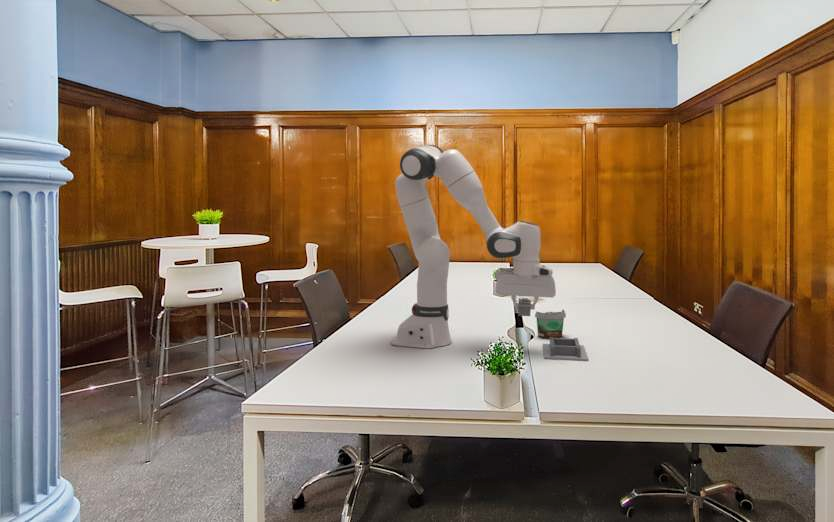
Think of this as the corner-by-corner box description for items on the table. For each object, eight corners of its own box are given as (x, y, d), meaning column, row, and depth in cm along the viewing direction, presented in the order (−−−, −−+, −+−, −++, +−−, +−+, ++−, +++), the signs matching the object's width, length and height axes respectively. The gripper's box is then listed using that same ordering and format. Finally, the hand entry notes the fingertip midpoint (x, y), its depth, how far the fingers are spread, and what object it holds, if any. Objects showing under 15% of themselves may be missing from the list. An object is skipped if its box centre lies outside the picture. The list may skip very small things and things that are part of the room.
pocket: (543, 358, 171) (544, 348, 171) (542, 345, 187) (543, 335, 187) (588, 361, 168) (588, 350, 168) (583, 347, 184) (583, 337, 184)
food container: (542, 341, 193) (542, 314, 192) (534, 337, 199) (534, 311, 198) (571, 338, 196) (572, 312, 195) (563, 334, 202) (563, 309, 201)
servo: (518, 316, 175) (518, 301, 175) (518, 310, 184) (519, 296, 184) (530, 316, 174) (530, 301, 174) (530, 311, 183) (530, 297, 183)
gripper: (494, 268, 177) (493, 308, 178) (557, 271, 173) (555, 312, 174) (495, 266, 183) (494, 305, 184) (556, 269, 179) (554, 308, 180)
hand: (524, 308), depth 179 cm, fingers closed on servo, 4 cm apart
